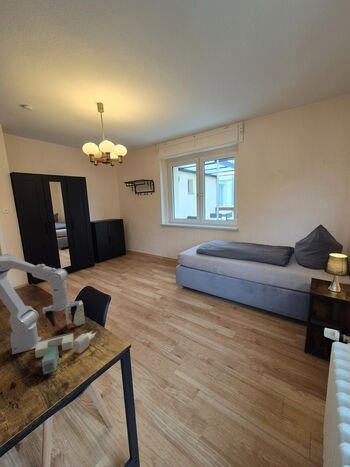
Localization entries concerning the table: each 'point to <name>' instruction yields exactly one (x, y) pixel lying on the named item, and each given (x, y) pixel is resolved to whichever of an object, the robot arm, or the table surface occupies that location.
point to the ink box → (75, 316)
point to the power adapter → (83, 342)
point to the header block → (54, 343)
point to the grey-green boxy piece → (50, 360)
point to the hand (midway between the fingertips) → (63, 323)
